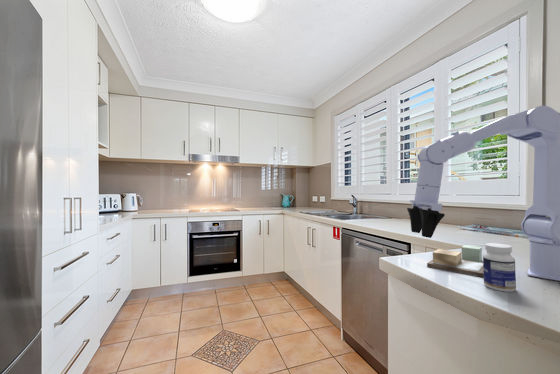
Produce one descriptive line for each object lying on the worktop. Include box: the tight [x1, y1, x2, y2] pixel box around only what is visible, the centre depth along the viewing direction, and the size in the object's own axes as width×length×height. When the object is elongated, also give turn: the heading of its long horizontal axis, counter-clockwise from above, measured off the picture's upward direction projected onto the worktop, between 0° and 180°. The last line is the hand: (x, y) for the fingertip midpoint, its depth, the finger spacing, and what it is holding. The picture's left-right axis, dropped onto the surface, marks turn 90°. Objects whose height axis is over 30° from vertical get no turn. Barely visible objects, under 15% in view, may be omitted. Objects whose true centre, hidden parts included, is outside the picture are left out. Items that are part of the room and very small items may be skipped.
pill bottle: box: [482, 242, 517, 293], centre depth 58 cm, size 6×6×10 cm
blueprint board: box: [426, 248, 484, 278], centre depth 74 cm, size 14×12×4 cm
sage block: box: [461, 244, 483, 263], centre depth 80 cm, size 4×4×4 cm
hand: (420, 234), depth 70 cm, fingers open, 7 cm apart
